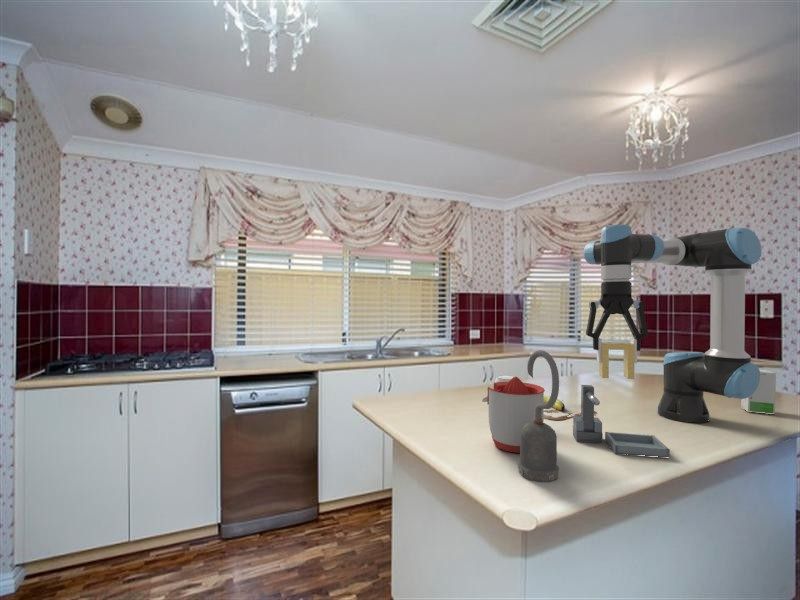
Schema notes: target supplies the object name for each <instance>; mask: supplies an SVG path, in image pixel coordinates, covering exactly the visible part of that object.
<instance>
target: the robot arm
mask: <svg viewBox="0 0 800 600" xmlns="http://www.w3.org/2000/svg"><path fill="white" fill-rule="evenodd" d="M600 233H601V234H600V240H595V241H592V242H591V241H590V242H588V243H587V244H586V245H585V246H584V248H583V257H584V260H585V261H586V263H587V264H589V265H601V266H600V280H601V284H600V298H599V300H596V301H590V302H588V306H589V314H588V320H587V324H586V325H587V326H586V331H585V335H586V336H587V337H590V338H592V349H593V350H594V351H596V361H597V362H598V363H599V362H602V342H603V339H602V338H600V336H601V334H602V332H603V330H604V328H605V326H606V323H607V321H608V319H609V318H610V316H611V315H622V317H623V318H624V321H625V322H626V324H627V326H628V329H629V330H630V332H631V334H632V336H633V338H630V343H633V344H634V364H637V363H638V357H637V356H638V354H637V353H638V352H640V351H641V342H642V339H643V338H648V337H649V330H648V326H647V321H646V315H645V310H644V309H645V305H646V304H645V301H643V300H642V301H640V300H638V301H637V300H634V299H633V296H632V292H633V291H632V285H633V283H632V282H631V281H630V280H632V277H633V276H632V264H643V263H644V264H646V263H647V264H648V263H649V264H650V263H651V264H653V263H655V264H656V263H657V264H658V263H660V264H661V263H662V264H664V265H667V266H680V267H682V266H683V267H693V268H697V267H698V268H701V267H702V268H703V267H705V269H704V271H705V273H706V274H708V275H709V276H710V328H709V329H710V336H709V337H710V339H709V340H710V341H709V346H710V348H709V349H708V350H707V351H705V352H702V351H701V352H700V351H683V352H682V351H680V352H679V351H677V352H674V351H673V352H667V353H666V354H665V355H664V356H663V363H662V367H663V392H662V396H661V398H660V401H659V403H658V406H657V414H658V415H659V416H660V417H663V418H665V417H666V418H665V419H669V418H670V420H672V419H674V421H677V420H679V421H678V422H683V421H685V422H686V423H692V422H704V423H707V422H706V421H708V420H709V419H710V416H711V415H710V412H709V411H710V410H709V409H708V407H707V403H706V401H705V397H704V393H709V394H714V395H719V396H723V397H725V398H729V399H730V398H732V399H733V398H734V399H745V398H748V397H750V396H751V395H752V394H753V393H754V392H755V391H756V389H757V387H758V385H759V381H760V370H761V369H759V366H758V365H757V364H755V363H753V362H752V361H751V355H750V354H749V353H747V352H746V350H745V339H746V338H745V329H746V328H745V327H746V326H745V325H746V324H745V320H746V317H745V316H746V313H745V312H746V311H745V310H746V275H747V274H749V273H750V272H751V271H752V265H755V264H756V263H758V262H759V261H760V259H761V257H762V245H761V241H760V239H759V237H758V235H757V234H756V233H755V231H753V230H752V229H750V228H748V227H731V228H726V229H719V230H712V231H705V232H698V233H692V234H687V235H684V236H682V235H681V236H676V237H668V238H666V239H662V238H661V237H660V236H657V235H654V234H650V233H646V234H645V233H644V234H643V233H641V234H640V233H639V234H638V233H633V231H632V227H631V226H630V225H628V224H623V223H622V224H612V225H606V226H603V228H602V229H601V232H600ZM599 306H601V308H602V309H603V311H602V313H601V317H600V319H599V321H598V323H597V325H596V327H595V329H594V326H595V321H596V314H597V310H598V308H599ZM631 307H634V309H635V313H636V318H637V322H638V327H639V330H638V328H637V325H636V323H635V322H634V319H633V318H632V314H631V312H630V311H629V310H630V308H631ZM593 331H594V332H593ZM709 421H710V420H709ZM709 421H708V422H709ZM685 422H684V423H685Z"/></svg>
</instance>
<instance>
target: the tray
mask: <svg viewBox="0 0 800 600" xmlns="http://www.w3.org/2000/svg"><path fill="white" fill-rule="evenodd" d="M604 441H605V443H607V445H608V446H609V448H610V447H611V448H610V449H611V450H612V451H614V452H613V453H614V455H618V454H626V455H625V456H630V455H645V456H658V457H671V456H670V454H671V451H670V449H671V448H669V447H668V446H666V444H664V443H663V442H662V441H661V440H660V439H659V438H657V436H655V435H653V434H652V435H649V434H640V433H639V434H638V433H628V432H627V433H626V432H624V433H623V432H613V431H604ZM627 454H628V455H627Z"/></svg>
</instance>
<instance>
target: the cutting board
mask: <svg viewBox="0 0 800 600" xmlns="http://www.w3.org/2000/svg"><path fill="white" fill-rule="evenodd" d="M550 396H551V395H550ZM550 396H549V395H545V394H544V403H547V402H548V401H549V399H550ZM552 408H553V409H552ZM552 408H551V409H544V413H547V414H544V419H545V420H551V421H552V420H553V421H561V420H562V421H563V420H567V419H571V418H572V419H573V416H580V417H581V412H577V413H575V414H574V413H573V412H569V413H567V414H565V415H562V416H557V417H554V416H552V415H551V414H553V413H554V414H555V413H556V414H558V413H559V412H562V411H564V410H565V403H563V401H562V400H560V399H558V398H557V400H556V402H555V404H554V406H553V407H552ZM549 414H550V415H549ZM597 414H598V412H597V411H596V410H594V417H595V416H597Z"/></svg>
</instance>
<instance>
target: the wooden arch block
mask: <svg viewBox="0 0 800 600" xmlns="http://www.w3.org/2000/svg"><path fill="white" fill-rule="evenodd" d="M609 350H612V351H613V350H614V351H615V350H622V351H623V377H625V378H626V379H627V380H635V363H634V344H633V343H631V341H629V342H627V341H625V342H624V341H620V342H619V341H602V362H598V376H599V377H600V378H602V379H609V377H610V376H609V374H610V373H609V371H610V370H609V368H610V367H609V365H610V364H609V362H610V361H609V358H610V357H609V355H610V354H609V352H610V351H609Z"/></svg>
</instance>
